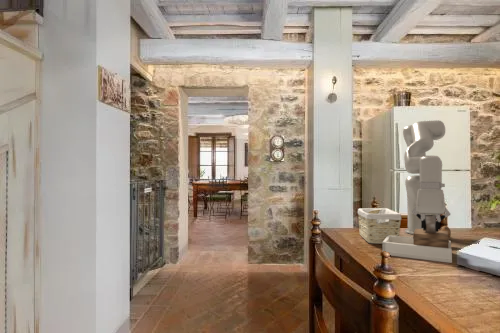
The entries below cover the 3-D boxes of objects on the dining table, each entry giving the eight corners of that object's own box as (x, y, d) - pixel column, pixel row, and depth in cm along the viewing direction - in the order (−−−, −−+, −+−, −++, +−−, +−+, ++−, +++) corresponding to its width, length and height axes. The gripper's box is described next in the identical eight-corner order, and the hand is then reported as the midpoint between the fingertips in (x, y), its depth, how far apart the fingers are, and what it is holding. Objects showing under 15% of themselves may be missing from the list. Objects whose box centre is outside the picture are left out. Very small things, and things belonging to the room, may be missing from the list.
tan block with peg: (413, 253, 129) (412, 216, 129) (415, 246, 139) (414, 212, 139) (449, 257, 122) (448, 218, 122) (448, 250, 133) (447, 214, 133)
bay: (382, 254, 132) (382, 242, 132) (388, 245, 147) (388, 234, 147) (452, 262, 120) (451, 249, 120) (450, 252, 134) (450, 240, 134)
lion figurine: (442, 244, 149) (442, 225, 149) (454, 246, 144) (454, 226, 144) (422, 248, 142) (422, 228, 142) (434, 250, 138) (433, 229, 138)
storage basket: (357, 234, 174) (356, 207, 174) (388, 234, 171) (387, 207, 171) (366, 244, 150) (366, 213, 150) (403, 245, 148) (402, 213, 148)
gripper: (453, 186, 130) (454, 230, 129) (408, 185, 138) (409, 227, 138) (454, 187, 123) (455, 234, 123) (406, 186, 132) (407, 230, 132)
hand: (430, 230), depth 131 cm, fingers closed on tan block with peg, 4 cm apart
